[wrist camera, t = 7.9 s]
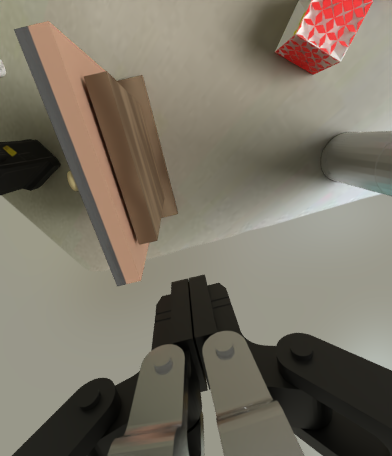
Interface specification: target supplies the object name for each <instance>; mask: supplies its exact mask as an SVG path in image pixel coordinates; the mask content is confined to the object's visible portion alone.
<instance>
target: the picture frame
mask: <svg viewBox="0 0 392 456" xmlns="http://www.w3.org/2000/svg"><path fill="white" fill-rule="evenodd" d="M14 31H15V33H16V36H17V38H18V41H19V43H20V46H21V48H22V51H23V53H24V56H25V58H26V61H27V63H28V66H29V68H30V71H31V73H32V76H33V78H34V81H35V83H36V86H37V88H38V91H39V93H40V96H41V98H42V100H43V103H44V105H45V108H46V110H47V113H48V115H49V118H50V120H51V123H52V125H53V128H54V130H55V133H56V135H57V138H58V140H59V143H60V145H61V148H62V150H63V153H64V155H65V158H66V160H67V163H68V165H69V168H70V170H71V171H69V172H68V173H67V178H68V182H69V185H70V186H71V188H72V189H73V190H74V191H79V192H80V195H81V197H82V200H83V202H84V205H85V207H86V210H87V212H88V215H89V217H90V220H91V222H92V225H93V227H94V230H95V232H96V235H97V237H98V240H99V242H100V245H101V247H102V250H103V252H104V255H105V257H106V260H107V262H108V265H109V267H110V270H111V272H112V274H113V277H114V279H115V282H116V284H117V286H121V285H125V284H129V283H133V282H137V281H141V278H142V274H143V269H144V264H145V260H146V255H147V250H148V246H149V243H145V244H141V245H139V243H138V240H137V237H136V234H135V231H134V228H133V225H132V222H131V219H130V216H129V213H128V210H127V207H126V204H125V201H124V198H123V195H122V192H121V189H120V186H119V183H118V180H117V177H116V174H115V171H114V168H113V165H112V162H111V159H110V155H109V152H108V149H107V146H106V143H105V140H104V137H103V134H102V131H101V128H100V125H99V122H98V119H97V116H96V113H95V110H94V107H93V104H92V101H91V98H90V95H89V92H88V89H87V86H86V83H85V80H84V76H88V75H92V74H96V73H101V72H105V70H104V69H103V68H101V67H100V66H99V65H98V64H97V63H96V62H95V61H93V60H92V59H91V58H90V57H89V56H88V55H87V54H85V53H84V52H83V51H82V50H81V49H80V48H79V47H77V46H76V45H75V44H74V43H73V42H72V41H71V40H69V39H68V38H67V37H66V36H65V35H64V34H63V33H62V32H60V31H59V30H58V29H57V28H56V27H55V26H54V25H52V24H51V23H50V22H49V21H47V22H43V23H39V24H34V25H30V26H26V27H22V28H18V29H14Z"/></svg>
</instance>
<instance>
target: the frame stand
mask: <svg viewBox="0 0 392 456" xmlns="http://www.w3.org/2000/svg"><path fill="white" fill-rule="evenodd" d="M84 80H85V83H86V86H87V89H88V92H89V95H90V98H91V101H92V104H93V107H94V110H95V113H96V116H97V119H98V122H99V125H100V128H101V131H102V134H103V137H104V140H105V143H106V146H107V149H108V152H109V155H110V159H111V162H112V165H113V168H114V171H115V174H116V177H117V180H118V183H119V186H120V189H121V192H122V195H123V198H124V201H125V204H126V207H127V210H128V213H129V216H130V219H131V222H132V225H133V228H134V231H135V234H136V237H137V240H138V243H139V245H141V244H145V243H149V242H154V241H157V239H158V234H159V228H160V222H161V218H163V217H167V216H171V215H176V214H178V211H177V207H176V203H175V199H174V195H173V192H172V188H171V184H170V180H169V176H168V172H167V168H166V164H165V160H164V156H163V153H162V149H161V145H160V141H159V137H158V133H157V129H156V125H155V121H154V118H153V114H152V110H151V106H150V102H149V98H148V94H147V90H146V86H145V83H144V79H143V76H142V75H141V76H136V77H132V78H128V79H124V80H119V81H116V80H115V79H114V78H113V77H112V76H111V75H110V74H109V73H108V72H107V71H105V72H101V73H96V74H92V75H88V76H84Z"/></svg>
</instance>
